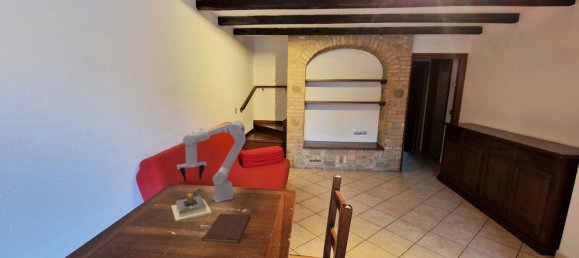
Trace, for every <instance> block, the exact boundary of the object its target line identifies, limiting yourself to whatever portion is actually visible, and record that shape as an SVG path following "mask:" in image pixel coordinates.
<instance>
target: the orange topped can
mask: <svg viewBox="0 0 579 258" xmlns="http://www.w3.org/2000/svg"><path fill="white" fill-rule="evenodd" d="M193 192H194V191H191V192H187V193H186V196H187V197H186V199H187V205H191V204H194V197H195V195H194V194H193Z"/></svg>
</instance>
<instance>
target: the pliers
mask: <svg viewBox="0 0 579 258" xmlns="http://www.w3.org/2000/svg"><path fill="white" fill-rule="evenodd" d="M205 190H206V189H205V187H204V188H202V189H201V187H199V188H198V189H196V190H195V191H192V192H193V195H194V197H197V196H199V194H201V193H202V192H204V191H205ZM185 198H187V195H183V196H181V197H179V198H178V199H176V200H175V203H176V201H178V200H183V199H185Z"/></svg>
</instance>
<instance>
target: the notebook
mask: <svg viewBox="0 0 579 258" xmlns="http://www.w3.org/2000/svg"><path fill="white" fill-rule="evenodd" d="M250 219H251V214H245V213H241V214H237V213H235V214H234V213H219V214H218V216H217V217H216V219H215V220H214V221H213V223H212V225H211V226H210V228H209V229H208V230H207V232H206V233H205V235H204V236H203V237H202V238H201V239H202V241H208V242H210V241H211V242H227V243H238V244H239V243H240V241H241V238H242V236H243V234H244V232H245V230H246V227H247V225H248V223H249V221H250Z"/></svg>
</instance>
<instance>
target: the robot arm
mask: <svg viewBox="0 0 579 258" xmlns="http://www.w3.org/2000/svg"><path fill="white" fill-rule="evenodd" d="M220 133H226V134H230V136H231V137H232V138H233V140H234V143H233V145H232V147H231V149H230V150H229V152H228V154H227V156H226V158H225V159H224V161H223V163H222V164H221V167H220V168H219V169H218V171H217V172H216V173H215V174H214V175H213V176H212V182H213V188H214V192H213V193H214V195H212V199H213V200H214V202H215V203H221V202H225V201H229V200H234V197H233V196H234V194H233V193H234V192H233V191H234V189H233V183H232V181H230V180H228V179H227V178H228V177H229V172H230V170H231V168H232V166H233V164H234V162H235V161H236V159H237V157H238V155H239V154H240V152H241V150H242V148H243V147H244V145H245V143H246V128H245V126H244V123H243V121H242V122H241V121H240V120H236V121H234V122H231V121H230V122H227V123H224V124H222V125H221V124H220V125H219V126H215V127H213V128H211V129H207V128H200V129H199V130H197V131H191V133H188V134H186V135H185V136H184V137H183V138H182V143H183V144H184V146H185V147H184V148H185V149H184V150H185V163H182V164H177V165H176V168H177V170H179V171H180V173H181V175H182V177H183V182H184V183H186V182H187V178H186V169H190V168H196V167H198V179H199V180H202V175H203V172H204V171H205V167H206V166H207V162H206V161H198V147H197V145H198V144H197V143H200V142H204V141H207V140H209V139H210V138H211V136H213V135H217V134H220Z"/></svg>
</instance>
